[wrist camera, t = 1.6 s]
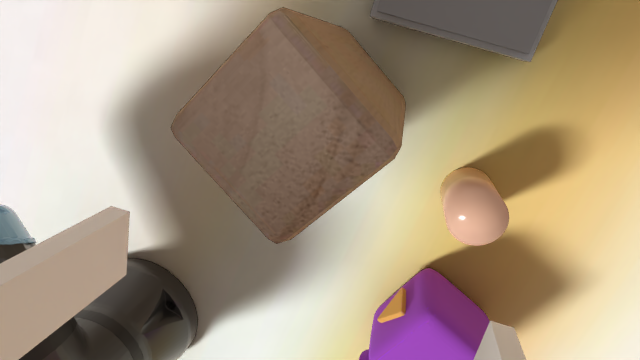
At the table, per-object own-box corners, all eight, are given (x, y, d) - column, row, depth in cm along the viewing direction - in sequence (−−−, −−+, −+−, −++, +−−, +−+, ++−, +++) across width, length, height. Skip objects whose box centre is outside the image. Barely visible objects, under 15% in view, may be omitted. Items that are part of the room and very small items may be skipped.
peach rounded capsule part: (433, 205, 42) (436, 233, 35) (451, 160, 40) (458, 182, 34) (481, 221, 41) (494, 253, 35) (501, 176, 39) (519, 201, 33)
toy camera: (349, 335, 49) (334, 403, 39) (411, 250, 44) (411, 304, 34) (427, 383, 48) (431, 462, 39) (499, 302, 43) (523, 371, 34)
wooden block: (270, 93, 42) (156, 128, 23) (342, 22, 38) (277, -4, 20) (334, 166, 43) (274, 255, 24) (410, 103, 39) (409, 151, 21)
